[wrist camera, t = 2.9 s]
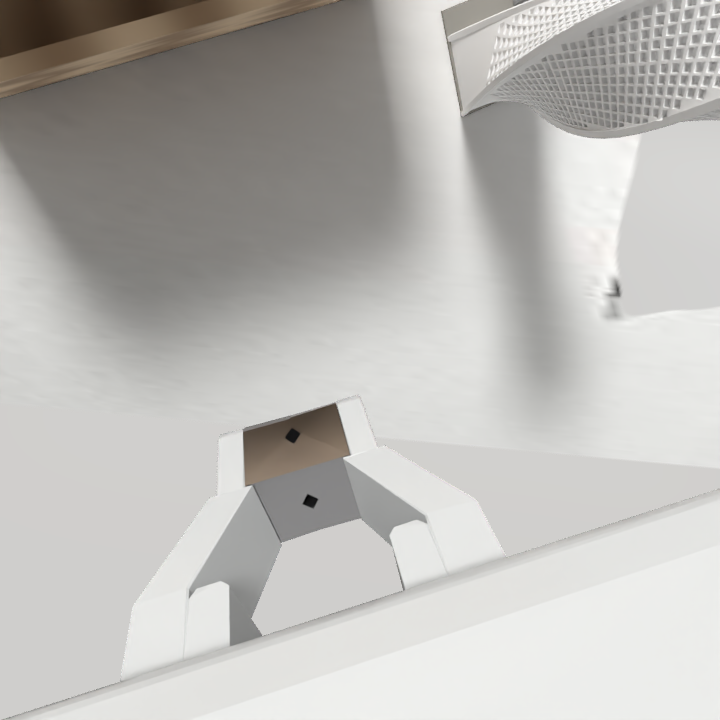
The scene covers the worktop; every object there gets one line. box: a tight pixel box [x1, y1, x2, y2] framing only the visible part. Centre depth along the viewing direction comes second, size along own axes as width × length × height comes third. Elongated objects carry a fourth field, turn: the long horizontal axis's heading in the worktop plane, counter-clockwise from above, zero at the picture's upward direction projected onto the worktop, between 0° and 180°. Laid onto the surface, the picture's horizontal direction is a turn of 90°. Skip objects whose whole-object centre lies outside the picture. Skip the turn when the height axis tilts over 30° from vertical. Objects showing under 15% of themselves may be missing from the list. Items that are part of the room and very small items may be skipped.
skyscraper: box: [441, 0, 720, 139], centre depth 25 cm, size 8×8×28 cm
